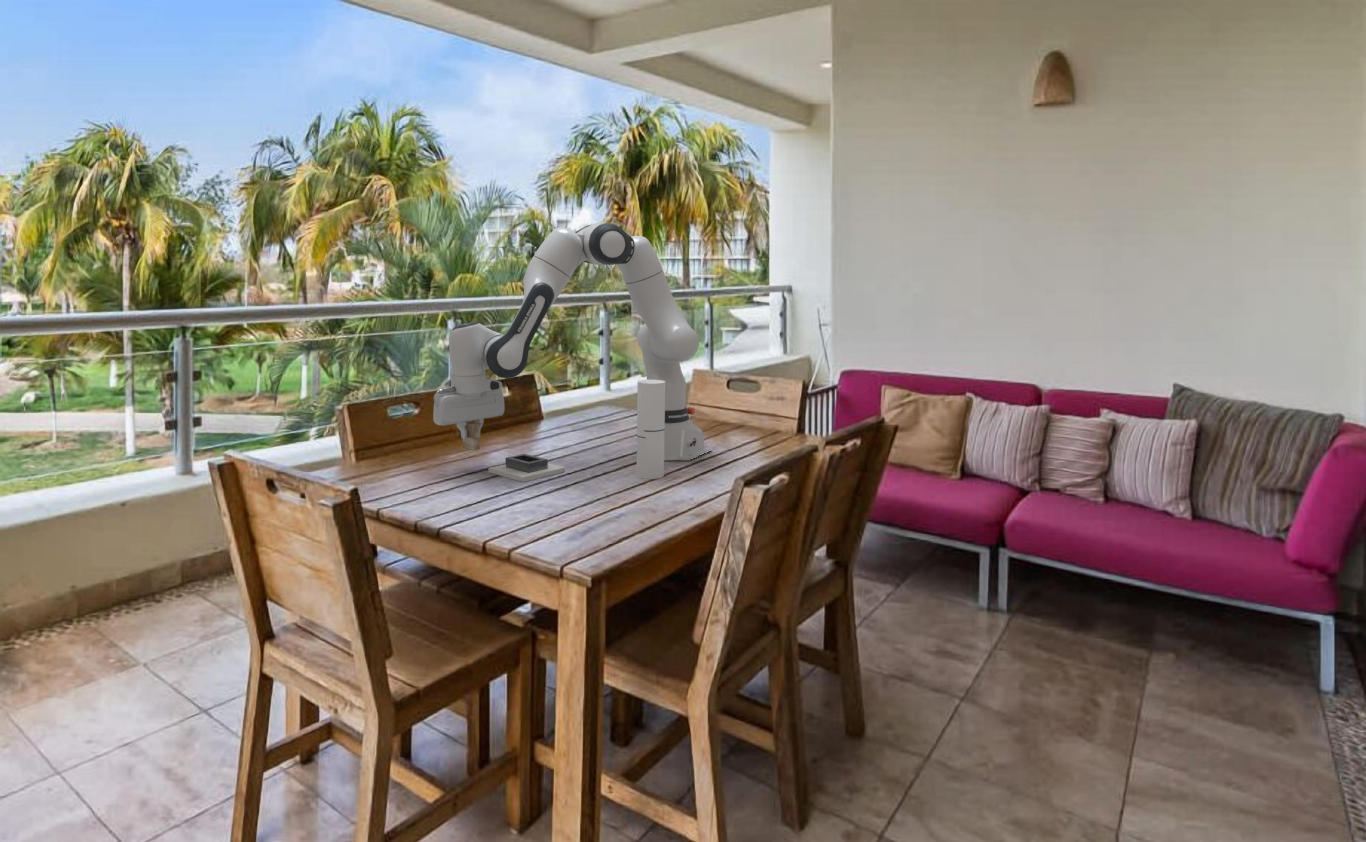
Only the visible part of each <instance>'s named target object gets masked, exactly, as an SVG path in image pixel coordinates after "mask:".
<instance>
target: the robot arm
mask: <svg viewBox="0 0 1366 842" xmlns="http://www.w3.org/2000/svg"><path fill="white" fill-rule="evenodd" d="M582 263H587V264H593V265H596V266H613V265H616V266H617V267H618V269H619V271H620V272H621V275H622V278H623V281H624V283H625V287H626V288H627V291H628V295H629V297H630V300H631V303H632V305H633V308H634V309H635V311H636V313H638V315H639V316H640V317H641V319H642V321H643V322H644V323H643V324H642V325H641V327H640V328H639V329H638V331H637V343H638V346H639V347H640V351H641V353H642V359H643V365H644V369H645V377H646V380H662V381H665V428H664V429H665V432H664V461H691V460H690V459H692V460H694V459H693V458H694V457H697V456H699V455H700V454H702V453H705V452H707V451H709V450H711V449H712V450H713V448H712V447H711V446H708V445H706V444H705V438H704V437H705V435H704V433H703V430H702V429H700V428H699V427H698V426H697V425H696V424H694V422H692V421H691V420H690V416H689V415H693V416H694V415H695V413H696V409H695V408H694V407H686V391H687V390H686V386H687V385H686V384H687V383H686V378H685V376H684V375H683V371H682V369H681V363H680V362H685V361H688V360H690V359H692V358H693V357H694V356H696V353H697V352H698V349H699V346H700V344H699V343H700V341H699V336H698V334H697V332H696V331H695V330H694V329H693V328H692V327H691V326H690V324H689V323H688V321H687V319H686V317H685V316H684V313H683V312H682V311H681V309H680V307H679V305H678V304H677V302H676V299H675V298H674V295H673V294H672V291H671V288H670V286H669V283H668V280H667V278H666V275H665V273H664V269H663V266H662V263H661V262H660V259H659V257H658V255H657V252H656V251H655V249H654V246H653V245H652V243H651V242H650V241H649V239H648V238H647V237H645V236H642V235H632V236H631V235H629V234H628V233H627V231H625V230H624V229H623V228H621V227H620V226H619V225H618V224H615V223H611V222H595V223H593V224H587V225H585V226H583V227H582V228H580V229H578V230H576V231H574V230H573V229H570V228H568V227H557V228H554V229H553V230H552V231H551V232H550V233H549V234H548V236H546V237H545V239H544V240H543V241H542V243H541V244H540V246H539V247H538V249H536V251H535V253H534V255H533V257H532V258H531V260H530V262H529V264H528V266H527V267H526V269H525V270H526V271H525V273H524V275H523V280H522V281H523V283H522V284H523V291H524V292H523V300H522V303H521V304H520V307H519V308H518V309H519V310H518V311H517V313H516V314H515V316H514V319H513V320H512V322H511V324H510V326H509V328H508V329H507V331H506V332H505V334H504V333H501V332H497V331H494V330H493V329H490V328H488V327H486V326H484V325H483V324H482V323H480V322H478V321H472V322H471V321H469V322H464V323H460V324H456V325H455V326H454V327H453V328H452V329H451V330H450V334H449V339H448V341H449V342H448V343H449V348H448V349H449V351H448V352H449V360H450V363H451V369H450V387H447V388H439V389H438V390H437V391H436V392H435V393H434V395H433V419H432V420H433V422H434V424H435V425H438V426H449V425H454V424H455V425H456V427H457V428H458V431H460V437H461V439H462V440H463V439H466V438H469V437H470V435H469V431H466V429H465V427H464V426H466V422H467V421H470V422H475V423H479V437H480V436H481V430H482V428H483V425H484V423H485V422H484V420H485V419H490V418H495V417H500V416H503V415H504V412H505V410H506V409H505V407H506V406H505V398H504V397H505V396H504V393H503V391H502V388H503V382H501V381H499V380H495V379H492V378H489V377H486V371H487V370H490V372H492V373H493V374H494V375H496V376H497V377H499V378H503V379H511V378H514V377H517V376H519V375H520V374H522V373H523V371H524V370H525V368H526V366H527V364H528V359H529V350H530V346H531V343H532V340H533V339H534V337H535V335H536V333H537V331H538V330H539V327H540V325H541V324H542V321H543V320H544V318H545V316H546V314H547V313H548V311H549V310H550V308H551V307H552V305H554V303H555V301H556V300H557V299H558V297H559V296H560V295H561V293H562V292H563V290H564V289H565V287H566V286H567V285H568V283H569V282H570V280H571V277H573V274H574V272H575V271H576V269H577V268H578V267H579V266H580V264H582ZM699 457H700V456H699ZM697 458H698V457H697Z"/></svg>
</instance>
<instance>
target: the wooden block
mask: <svg viewBox="0 0 1366 842" xmlns="http://www.w3.org/2000/svg"><path fill="white" fill-rule="evenodd" d="M464 427H465V429H466V431H469V435H470V437H469V438H466V439H463V438H462V448H463V449H465V450H469V451H478V450H480V447H481V446H480V436H479V423H476V422H475V421H467V422H466V426H464Z"/></svg>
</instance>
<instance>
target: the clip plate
mask: <svg viewBox="0 0 1366 842" xmlns="http://www.w3.org/2000/svg"><path fill="white" fill-rule="evenodd" d="M488 473H489V474H493V475H497V476H500V477H504V478H507V479H512V480H515V481H518V482H521V483H524V482H528V481H533V480H537V479H540V478H541V479H542V478H545V477H550V476H554V475H557V474H562V473H565V467H563V466H561V465H560V466H559V465H556V464H551V463H548V469H544V470H540V471H535V472H531V473H527V472H523V471H519V470H516V469H512V468H508V467H506V463H504V464H500V465H495V466H492V467H488Z"/></svg>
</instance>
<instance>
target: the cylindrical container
mask: <svg viewBox="0 0 1366 842" xmlns="http://www.w3.org/2000/svg"><path fill="white" fill-rule="evenodd" d="M636 389H637V391H636V393H637V394H636V395H637V397H636V400H637V402H636V403H637V404H636V405H637V406H636V407H637V408H636V410H637V413H636V420H637V422H636V477H638V478H640V479H643V480H656V479H662V478H664V477H665V460H664V432H665V429H664V428H665V381H662V380H647V379H639V380H637V387H636Z"/></svg>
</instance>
